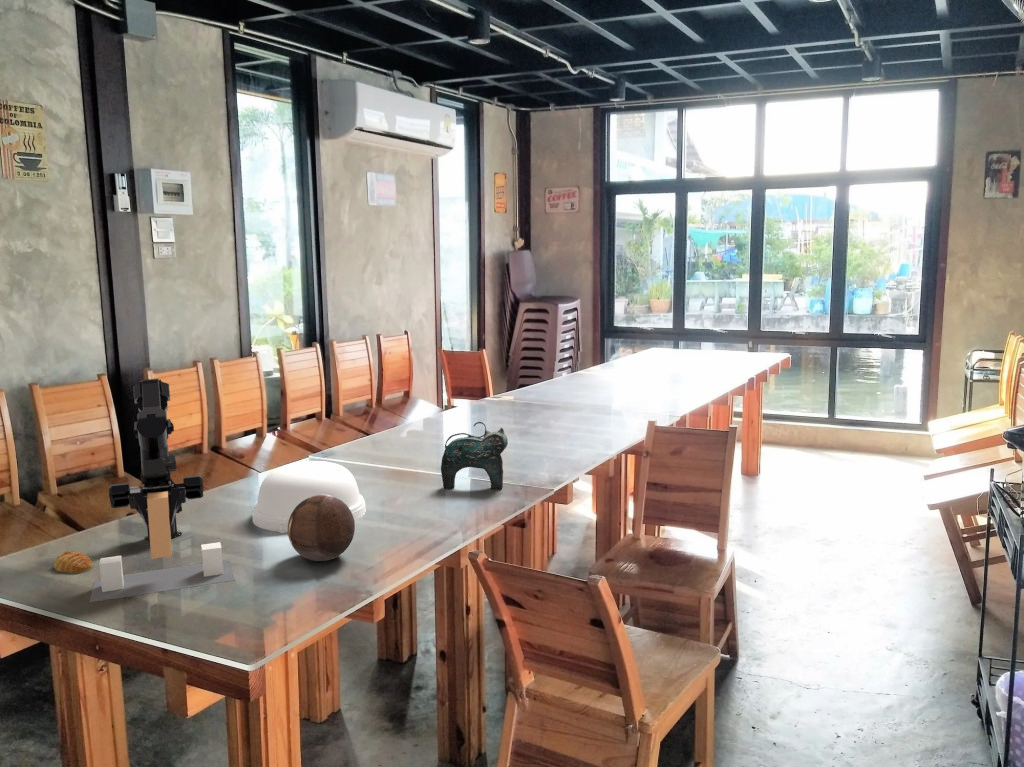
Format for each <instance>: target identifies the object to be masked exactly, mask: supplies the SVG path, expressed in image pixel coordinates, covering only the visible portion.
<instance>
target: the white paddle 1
mask: <svg viewBox="0 0 1024 767" xmlns="http://www.w3.org/2000/svg"><path fill="white" fill-rule="evenodd" d="M122 560H123V559H122V555H115V556H108V557H101V558H100V560H99V563H98V564H99V575H100V578H101V586H102V592H105V591H112V590H119V589H123V585H124V580H123V575H124V572H123V571H124V569H123V561H122Z"/></svg>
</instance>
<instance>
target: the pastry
mask: <svg viewBox="0 0 1024 767" xmlns="http://www.w3.org/2000/svg"><path fill="white" fill-rule="evenodd" d="M52 564H53V565H52V566H53V568H54V570H55V571H56V572H61V573H65V574H66V573H67V574H84V573H87V572H89V571H91V570H92V569H94V564H93V560H92V559H91V558H90V556H88V555H86V554H85V553H83V552H80V551H76V552H75V551H71V550H67V551H64V552H62V553H60V554H59V555H57V556H56V557H55V560H54V561H53V563H52Z"/></svg>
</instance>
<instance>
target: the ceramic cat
mask: <svg viewBox="0 0 1024 767" xmlns="http://www.w3.org/2000/svg"><path fill="white" fill-rule="evenodd" d="M477 424H482V425H483V426H484V434H483V435H481V436H477V435H472V434H469V433H466V432H461V433H455V434H452V435H450V436H449V437H448V438H447V440H446V441H445V443H444V450H443V455H442V457H441V463H440V464H441V465H440V473H441V474H440V475H441V479H442V480H441V481H442V487H443V489H444V490H454V489H455V486H456V485H455V481H456V480H455V479H456V475H457V473H458V472H459V471H461V470H463V469H466V468H473V469H474V468H475V469H481V470H484V471H485V473H486V474H487V475H488V477H489V482H490V490H502V488H503V485H504V468H503V466H504V465H503V462H504V461H503V458H502V455H501V454H502V453H503V452H504V451H505V450H506V448H507V447H508V443H509V442H508V437H507V435H506V434H505V430H504V428H502V427H500V428H499V430H497V431H491V432H490V431H489V430H487V427H486V424H485V423H484V422H482V421H477V422H475V423H474V424H473V427H475V426H476V425H477ZM461 435H464V436H465V435H466V436H465V437H458V438H456V439H453V440H452V441H450V439H452V438H453V437H455V436H461ZM448 441H450V442H449V443H448ZM447 443H448V444H447Z"/></svg>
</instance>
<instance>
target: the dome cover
mask: <svg viewBox="0 0 1024 767" xmlns="http://www.w3.org/2000/svg"><path fill="white" fill-rule="evenodd" d="M315 495H330V496H333V497H336V498H338V499H340V500H341V501H343V502H344V503H345V504H346V505H347V506H348V508H349V509H350V511H351V512H352V515H353V517H354V522H356V521H358V520H359V519H358V518H360V517H361V518H362V517H364V516H365V514H366V513H365V512H367V509H366V501H365V499H364V497H363V495H362V494H360V490H359V486H358V484H357V481H356V478H355V477H354V475H353V474H352V473H351V471H349V469H347V468H346V467H344V466H343V465H340V464H338V463H334V462H330V461H326V460H325V461H322V460H320V461H319V460H310V461H309V460H308V461H307V460H306V461H300V462H299V461H298V462H297V461H296V462H294V463H293V462H292V463H289V464H285V465H282V466H280V467H278V468H275V469H274V470H272V471H271V472H269V473H268V474H267V475H266V476H265V478H264V479H263V481H262V482H261V484H260V486H259V490H258V495H257V502H256V503H255V505H254V506H253V510H252V523H253V525H254V526H256V527H258V528H260V529H263V530H266V531H272V532H278V533H279V534H285V533H288V522H289V518H290V516H291V514H292V512H293V510H294V509H295V508H296V506H297V505H298V504H299V503H301V502H302V501H303V500H305V499H307V498H309V497H311V496H315ZM363 515H364V516H363ZM361 518H360V519H361ZM357 519H358V520H357ZM355 520H356V521H355Z"/></svg>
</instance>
